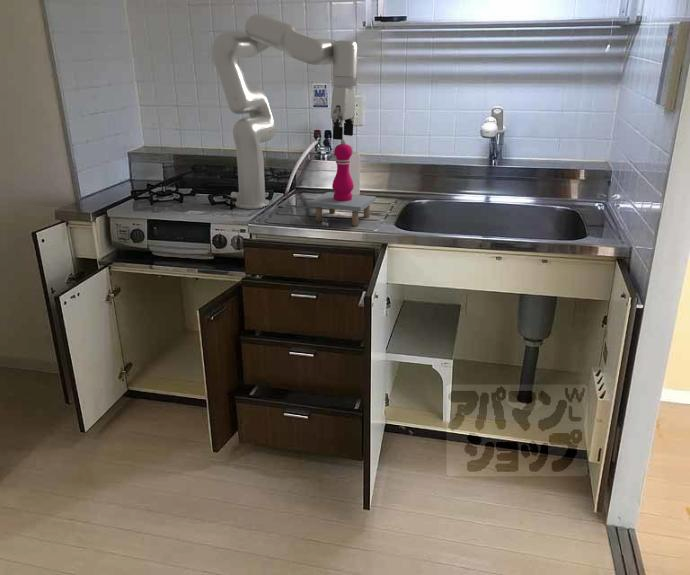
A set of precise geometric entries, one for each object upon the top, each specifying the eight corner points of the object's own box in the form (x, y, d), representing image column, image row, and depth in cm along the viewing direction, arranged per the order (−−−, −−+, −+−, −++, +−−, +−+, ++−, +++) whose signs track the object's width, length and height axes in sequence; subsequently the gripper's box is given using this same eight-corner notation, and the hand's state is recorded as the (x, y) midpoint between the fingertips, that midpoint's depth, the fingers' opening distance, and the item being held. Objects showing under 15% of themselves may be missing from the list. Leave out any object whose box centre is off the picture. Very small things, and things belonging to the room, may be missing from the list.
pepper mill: (351, 202, 201) (351, 141, 194) (330, 200, 202) (330, 140, 195) (355, 197, 208) (356, 138, 200) (334, 196, 209) (334, 137, 202)
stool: (309, 222, 203) (309, 201, 201) (327, 211, 217) (327, 191, 215) (360, 227, 198) (360, 207, 195) (375, 216, 212) (375, 196, 209)
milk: (344, 207, 223) (344, 146, 215) (339, 203, 229) (339, 144, 220) (359, 206, 225) (360, 146, 216) (354, 202, 230) (355, 143, 222)
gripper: (342, 80, 200) (341, 133, 206) (323, 83, 185) (322, 140, 191) (364, 81, 197) (362, 134, 204) (345, 84, 182) (344, 141, 189)
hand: (343, 137), depth 197 cm, fingers open, 9 cm apart
